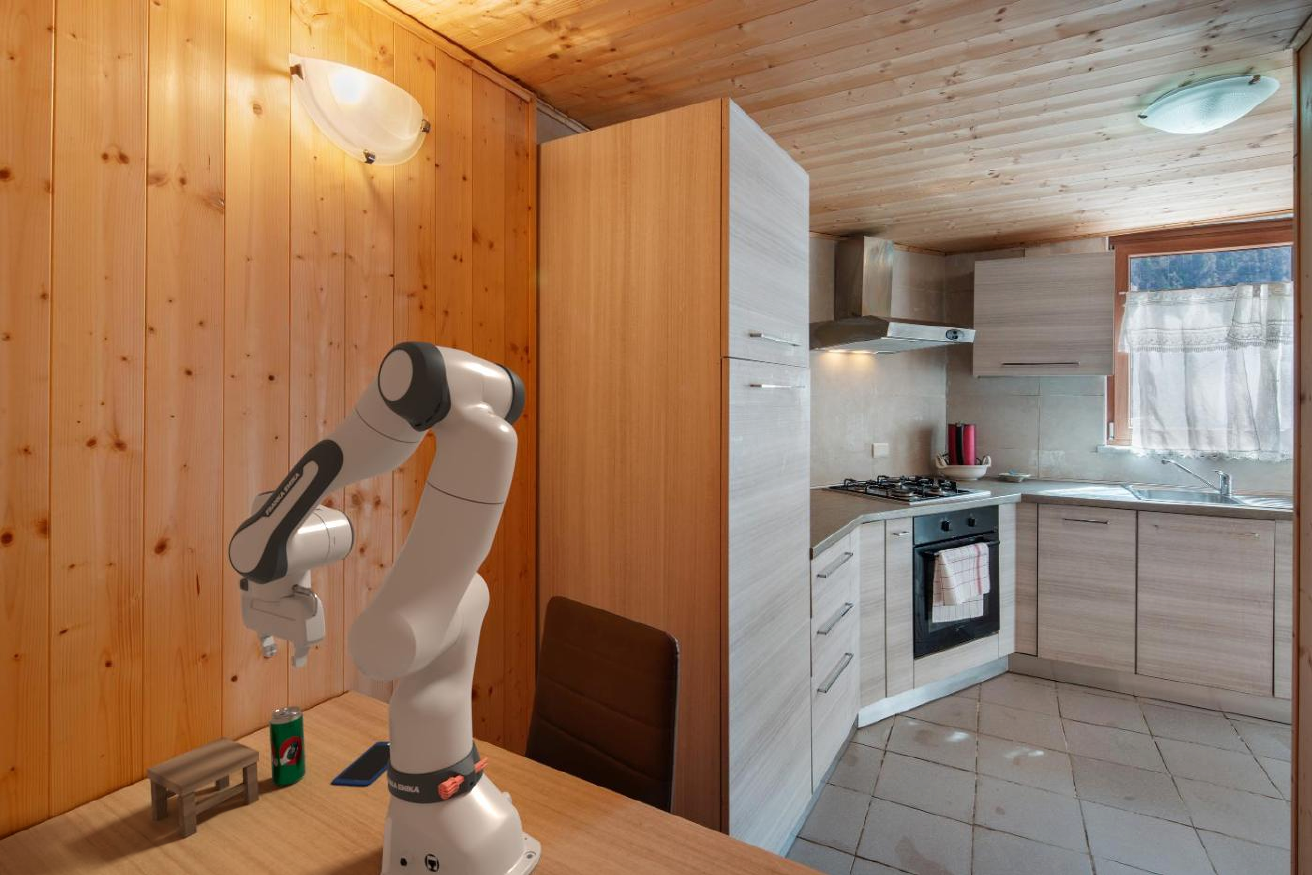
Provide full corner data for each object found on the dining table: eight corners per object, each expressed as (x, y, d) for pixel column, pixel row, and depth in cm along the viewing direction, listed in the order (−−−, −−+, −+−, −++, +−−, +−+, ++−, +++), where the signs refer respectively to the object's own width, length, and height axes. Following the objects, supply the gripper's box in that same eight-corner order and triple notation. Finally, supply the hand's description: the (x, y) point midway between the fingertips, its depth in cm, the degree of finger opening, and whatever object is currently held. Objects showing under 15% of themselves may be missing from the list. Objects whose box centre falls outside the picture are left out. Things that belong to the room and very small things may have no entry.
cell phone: (413, 746, 118) (412, 742, 118) (368, 789, 104) (368, 784, 104) (377, 744, 119) (377, 740, 119) (329, 786, 105) (329, 782, 105)
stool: (261, 798, 102) (258, 751, 102) (184, 839, 92) (181, 786, 92) (225, 782, 107) (223, 736, 107) (149, 818, 98) (147, 768, 97)
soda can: (312, 771, 110) (309, 704, 109) (292, 788, 105) (289, 718, 104) (285, 770, 110) (282, 704, 110) (265, 787, 105) (261, 718, 105)
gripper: (334, 585, 104) (336, 666, 104) (270, 571, 115) (272, 644, 115) (296, 594, 99) (298, 679, 99) (232, 578, 109) (235, 655, 110)
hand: (284, 660), depth 107 cm, fingers open, 8 cm apart
